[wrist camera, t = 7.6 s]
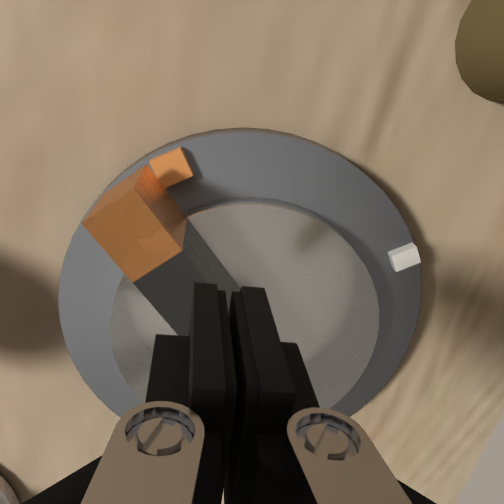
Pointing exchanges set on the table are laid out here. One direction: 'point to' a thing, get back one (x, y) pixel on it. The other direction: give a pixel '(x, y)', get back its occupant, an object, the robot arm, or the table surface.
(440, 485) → the table surface
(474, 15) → the cork
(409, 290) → the dial base
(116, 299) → the dial
